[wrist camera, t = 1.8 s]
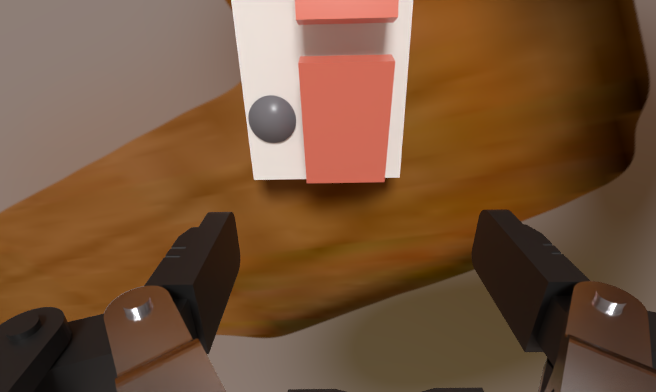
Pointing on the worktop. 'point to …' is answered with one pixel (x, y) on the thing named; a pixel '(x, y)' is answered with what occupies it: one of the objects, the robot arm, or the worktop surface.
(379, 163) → the rocker
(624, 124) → the worktop surface
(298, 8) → the rocker middle
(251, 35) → the power strip
